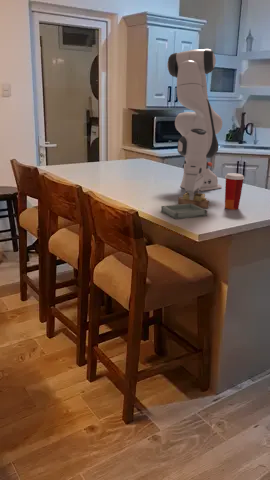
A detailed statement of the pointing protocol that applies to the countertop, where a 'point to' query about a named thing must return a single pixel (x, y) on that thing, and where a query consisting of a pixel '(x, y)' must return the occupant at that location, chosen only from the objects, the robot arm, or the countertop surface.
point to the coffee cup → (233, 190)
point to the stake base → (194, 202)
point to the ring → (195, 197)
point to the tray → (183, 211)
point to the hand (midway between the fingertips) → (193, 198)
